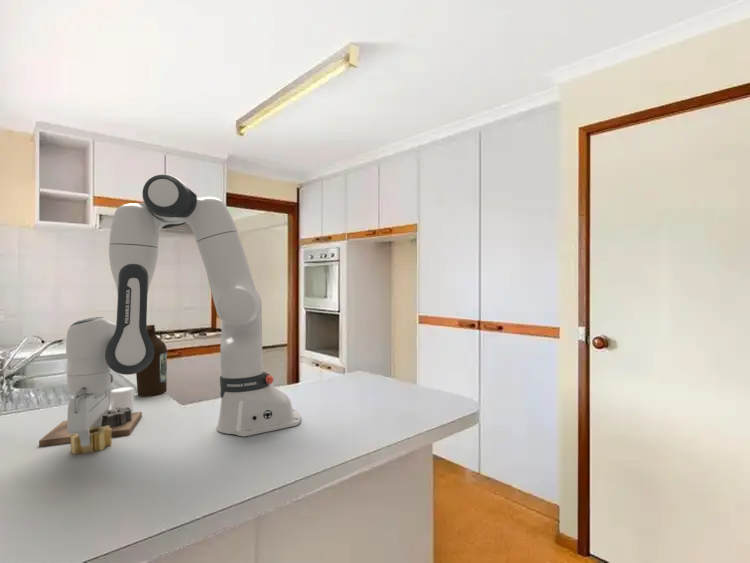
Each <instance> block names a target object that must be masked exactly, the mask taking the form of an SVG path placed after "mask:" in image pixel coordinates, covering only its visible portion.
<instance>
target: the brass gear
mask: <svg viewBox="0 0 750 563" xmlns="http://www.w3.org/2000/svg"><path fill="white" fill-rule="evenodd" d="M89 433H90V436H91V443H90V444H89V445H88V446H84V447H82V446H81V443H80V438H79V436H78V433H77V434H71V435H70V437H71V443H70V451H71V454H72V455H78V454H85V453H92V452H97V451H99V452H101V451H103V450H105V449H106V447H110V446H112V445H113V437H112V428H110V426H108V425H107V426H104V427H92V428H90V431H89Z"/></svg>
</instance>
